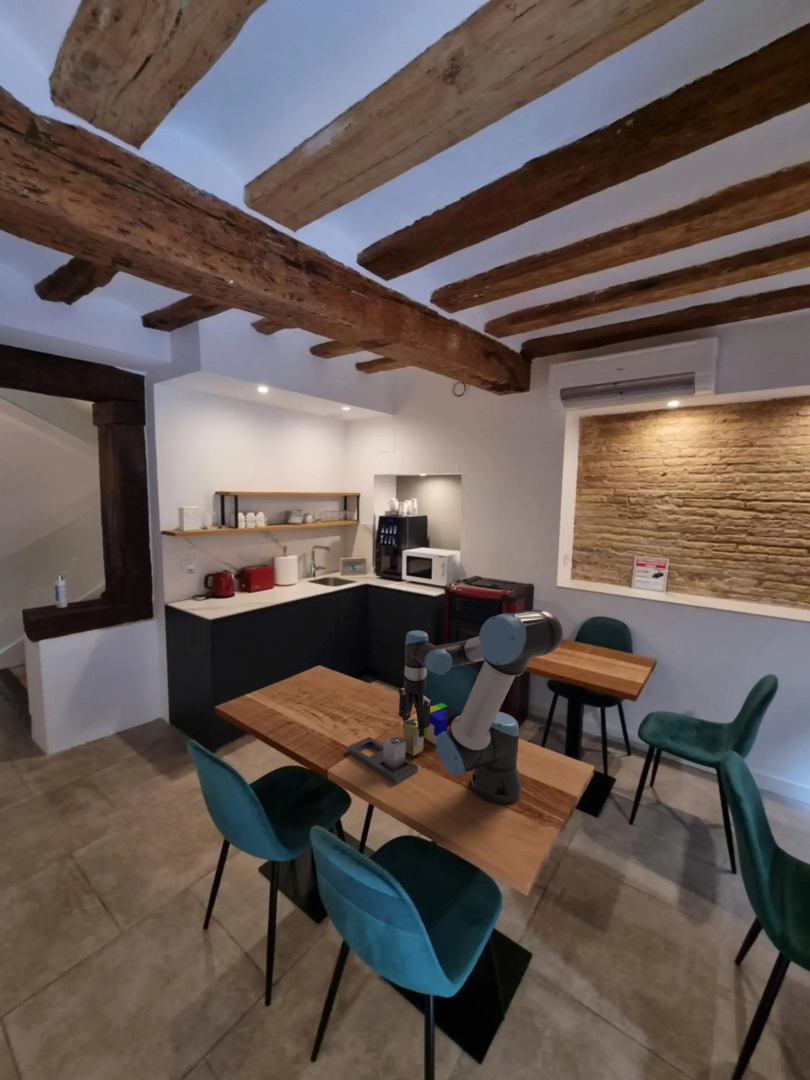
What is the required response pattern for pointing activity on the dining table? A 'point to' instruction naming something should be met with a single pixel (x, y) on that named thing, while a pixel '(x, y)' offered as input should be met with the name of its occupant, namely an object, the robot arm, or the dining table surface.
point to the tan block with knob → (411, 737)
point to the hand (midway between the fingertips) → (413, 741)
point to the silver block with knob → (394, 754)
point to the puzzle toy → (439, 721)
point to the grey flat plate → (380, 761)
